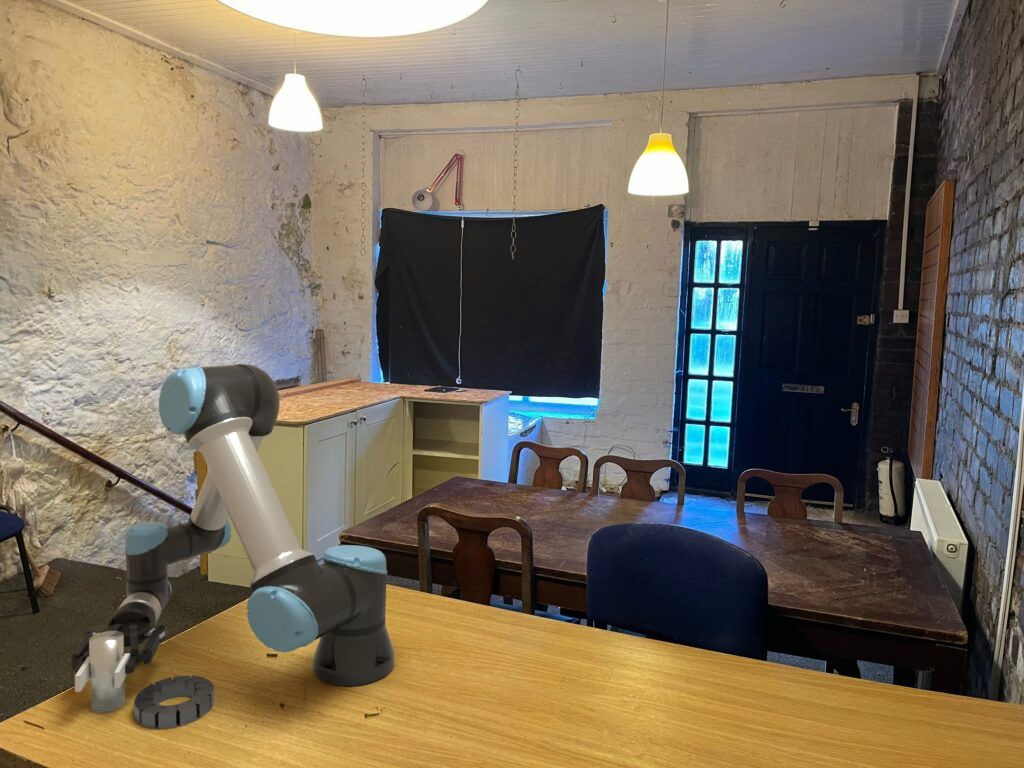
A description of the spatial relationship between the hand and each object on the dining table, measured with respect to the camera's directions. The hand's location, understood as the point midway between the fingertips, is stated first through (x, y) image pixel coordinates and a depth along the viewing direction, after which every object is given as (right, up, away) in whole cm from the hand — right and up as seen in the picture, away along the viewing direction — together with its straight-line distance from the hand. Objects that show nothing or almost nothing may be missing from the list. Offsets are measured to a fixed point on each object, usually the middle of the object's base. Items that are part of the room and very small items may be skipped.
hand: (97, 681), depth 115 cm
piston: (-2, -6, +6) cm, 9 cm away
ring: (+10, -7, +6) cm, 13 cm away
